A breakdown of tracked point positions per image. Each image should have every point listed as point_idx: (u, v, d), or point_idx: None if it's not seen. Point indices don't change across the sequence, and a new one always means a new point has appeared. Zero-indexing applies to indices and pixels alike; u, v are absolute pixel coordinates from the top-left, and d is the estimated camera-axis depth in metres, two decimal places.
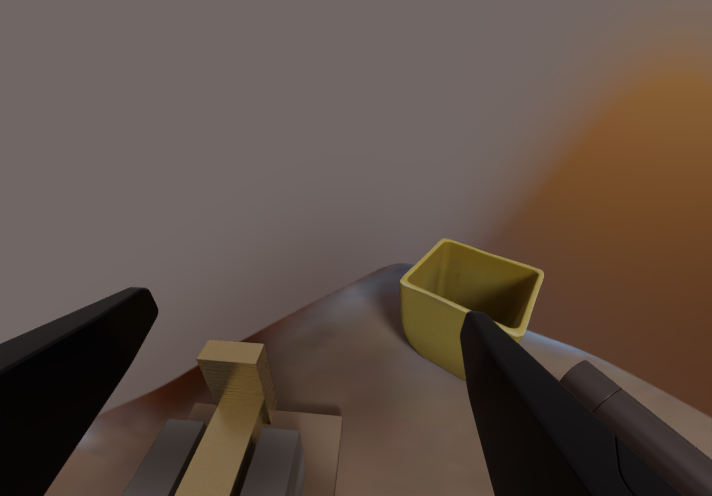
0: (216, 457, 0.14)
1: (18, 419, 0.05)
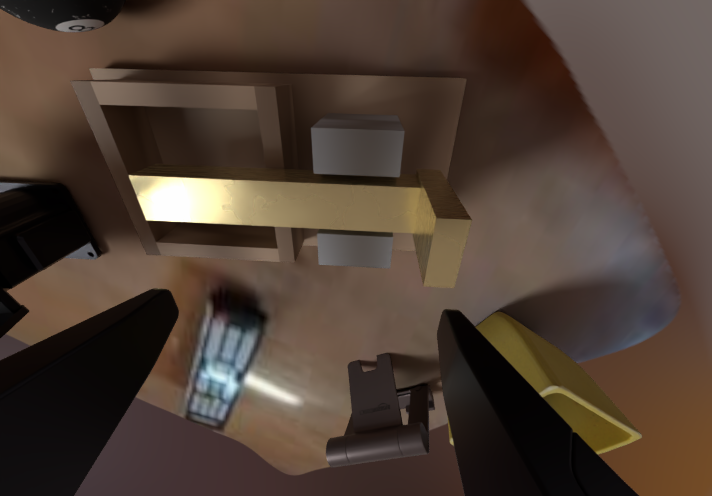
0: (363, 208, 0.14)
1: (50, 422, 0.05)
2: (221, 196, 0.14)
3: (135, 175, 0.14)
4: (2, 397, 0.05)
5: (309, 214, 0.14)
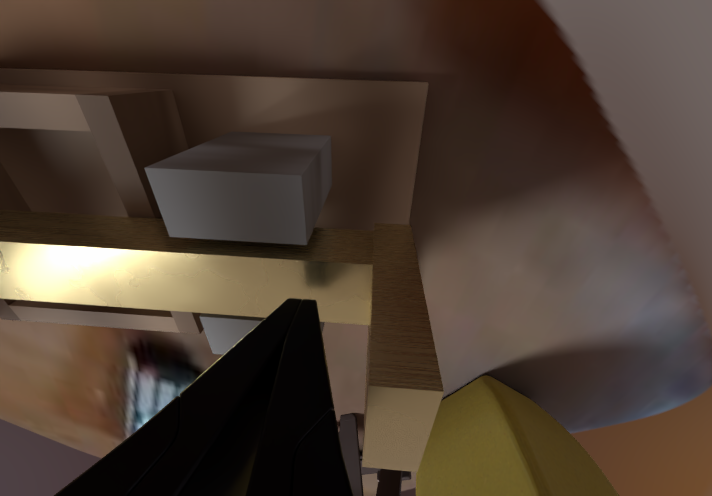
0: (284, 289, 0.09)
1: (248, 441, 0.05)
2: (63, 268, 0.09)
3: None
4: (230, 419, 0.04)
5: (204, 295, 0.09)
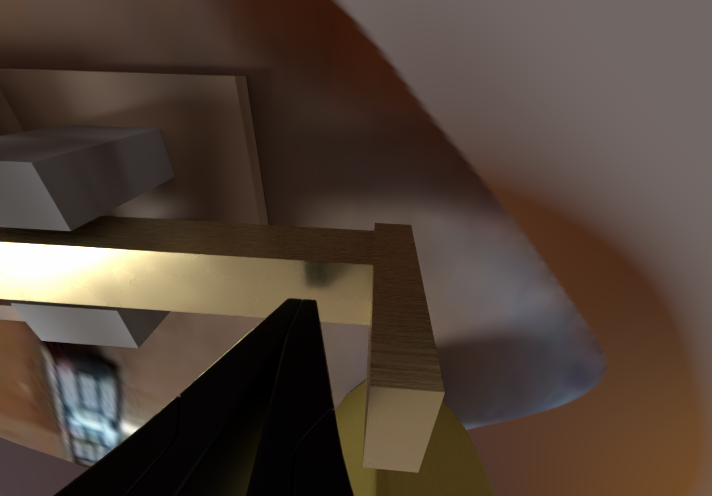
0: (285, 289, 0.09)
1: (247, 441, 0.05)
2: (63, 268, 0.09)
3: None
4: (230, 419, 0.04)
5: (204, 296, 0.09)
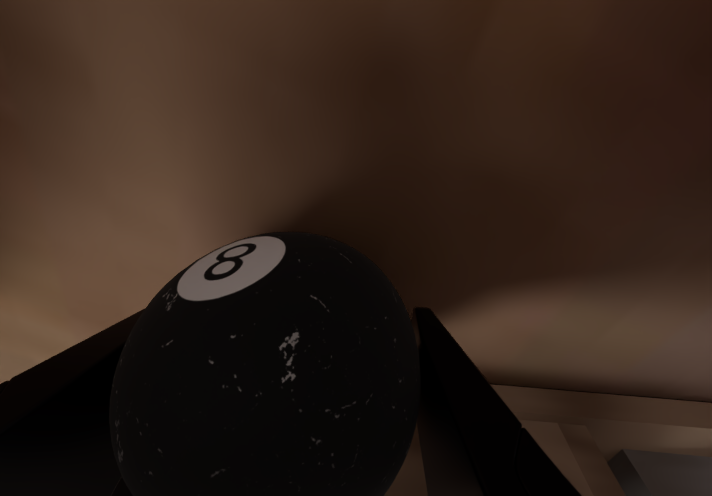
0: None
1: (89, 426, 0.05)
2: None
3: None
4: (47, 401, 0.05)
5: None
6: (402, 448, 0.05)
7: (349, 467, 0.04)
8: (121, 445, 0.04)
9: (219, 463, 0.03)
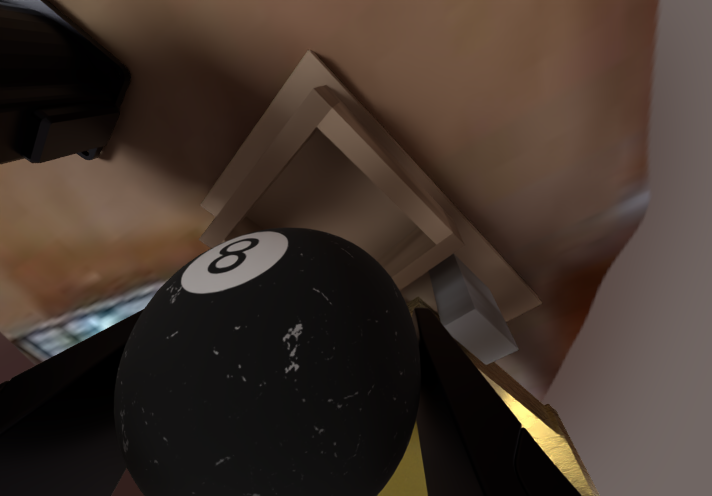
0: None
1: (89, 426, 0.05)
2: None
3: None
4: (47, 401, 0.05)
5: None
6: (403, 439, 0.05)
7: (350, 457, 0.04)
8: (126, 435, 0.04)
9: (224, 453, 0.04)
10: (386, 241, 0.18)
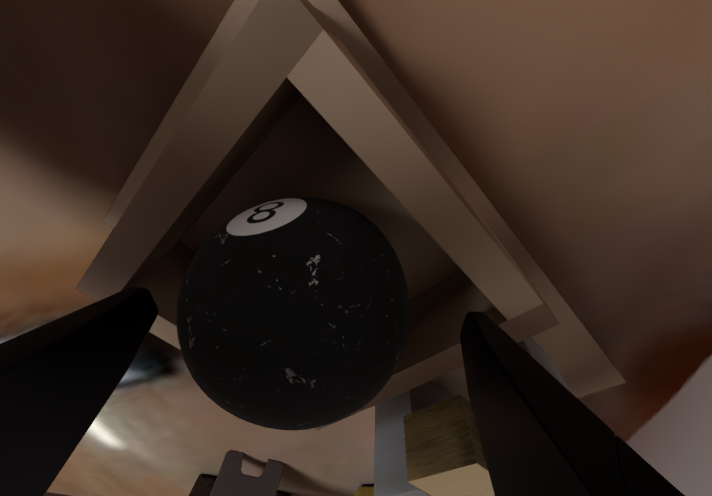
0: None
1: (18, 419, 0.05)
2: None
3: (482, 465, 0.08)
4: None
5: None
6: (393, 350, 0.06)
7: (354, 349, 0.06)
8: (193, 334, 0.06)
9: (267, 337, 0.05)
10: None
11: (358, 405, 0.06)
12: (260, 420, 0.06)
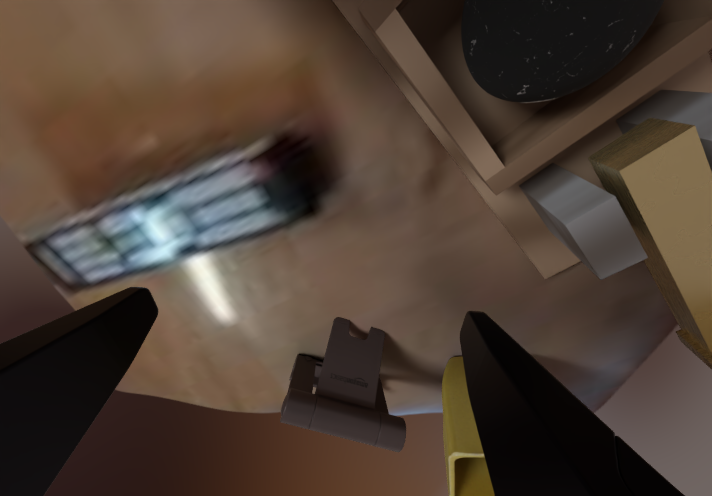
0: None
1: (18, 419, 0.05)
2: (699, 224, 0.12)
3: (696, 132, 0.10)
4: None
5: (705, 294, 0.14)
6: None
7: None
8: None
9: None
10: None
11: (645, 21, 0.08)
12: (584, 16, 0.08)
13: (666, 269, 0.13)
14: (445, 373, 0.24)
